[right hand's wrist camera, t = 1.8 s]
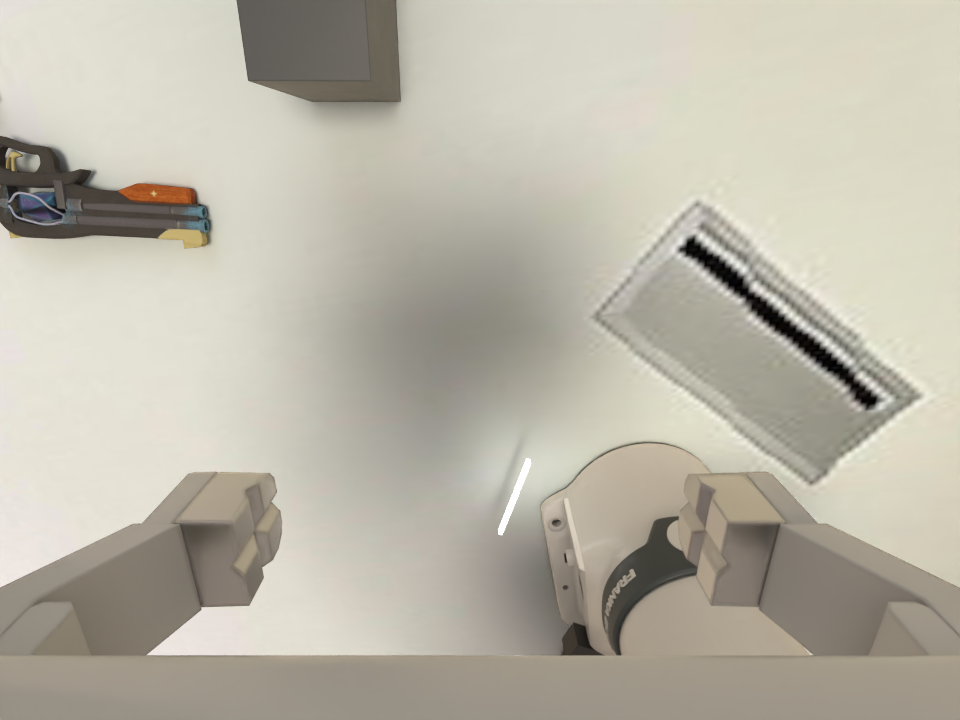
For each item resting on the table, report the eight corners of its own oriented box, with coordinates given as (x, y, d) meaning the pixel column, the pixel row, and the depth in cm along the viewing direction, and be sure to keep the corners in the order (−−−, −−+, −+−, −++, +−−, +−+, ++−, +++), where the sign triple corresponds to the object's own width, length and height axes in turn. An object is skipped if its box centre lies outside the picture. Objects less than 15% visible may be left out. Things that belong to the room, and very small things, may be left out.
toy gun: (-116, 79, 34) (-82, 236, 37) (188, 101, 36) (200, 250, 38) (-76, 89, 37) (-48, 235, 39) (205, 110, 38) (215, 248, 41)
